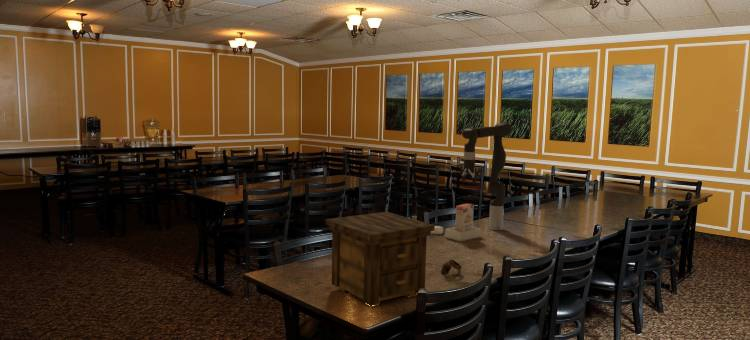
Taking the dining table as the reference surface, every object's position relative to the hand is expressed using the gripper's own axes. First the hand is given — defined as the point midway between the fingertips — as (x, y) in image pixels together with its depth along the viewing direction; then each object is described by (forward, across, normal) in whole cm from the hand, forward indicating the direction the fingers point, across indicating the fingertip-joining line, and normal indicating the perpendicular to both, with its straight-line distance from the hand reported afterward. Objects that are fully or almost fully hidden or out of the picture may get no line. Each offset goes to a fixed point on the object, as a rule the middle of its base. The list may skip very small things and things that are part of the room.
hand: (468, 182), depth 353 cm
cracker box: (+34, -6, +12) cm, 37 cm away
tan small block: (+35, +13, +16) cm, 41 cm away
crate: (+32, -52, +124) cm, 138 cm away
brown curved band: (+33, -53, +77) cm, 99 cm away
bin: (+35, -6, +12) cm, 37 cm away
